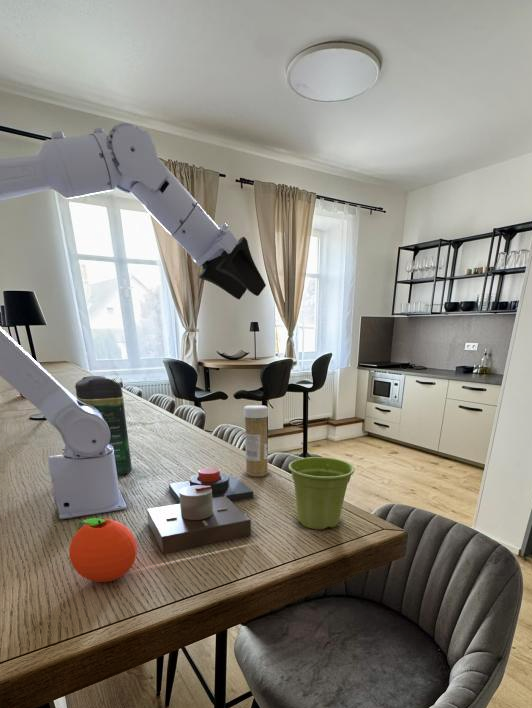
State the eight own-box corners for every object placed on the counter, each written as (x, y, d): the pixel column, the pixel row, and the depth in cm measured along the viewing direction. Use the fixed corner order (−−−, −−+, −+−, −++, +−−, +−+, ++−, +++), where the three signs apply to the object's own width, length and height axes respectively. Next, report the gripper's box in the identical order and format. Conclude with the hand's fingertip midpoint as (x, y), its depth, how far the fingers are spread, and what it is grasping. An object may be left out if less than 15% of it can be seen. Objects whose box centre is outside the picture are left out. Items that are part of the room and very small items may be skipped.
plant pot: (355, 514, 64) (359, 460, 61) (343, 540, 56) (348, 479, 53) (298, 506, 67) (299, 454, 64) (278, 529, 59) (279, 471, 56)
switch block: (183, 510, 65) (182, 492, 64) (169, 490, 73) (167, 474, 72) (253, 498, 70) (253, 481, 69) (232, 481, 78) (231, 466, 77)
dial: (185, 522, 55) (183, 495, 53) (177, 510, 58) (175, 485, 57) (217, 516, 57) (216, 490, 55) (207, 505, 60) (206, 481, 59)
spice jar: (272, 474, 83) (272, 406, 78) (255, 479, 80) (254, 409, 75) (257, 469, 86) (257, 403, 81) (240, 473, 83) (238, 406, 78)
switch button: (202, 484, 68) (201, 474, 68) (196, 478, 71) (195, 468, 71) (223, 481, 70) (222, 472, 69) (216, 475, 73) (215, 466, 72)
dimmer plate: (163, 554, 52) (161, 535, 51) (148, 524, 60) (146, 507, 59) (251, 536, 57) (250, 518, 56) (226, 510, 65) (225, 494, 64)
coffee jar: (137, 475, 81) (124, 377, 74) (94, 481, 77) (77, 379, 70) (125, 462, 89) (113, 373, 82) (86, 468, 85) (70, 374, 78)
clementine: (56, 579, 46) (43, 522, 44) (108, 554, 52) (100, 501, 49) (101, 602, 42) (90, 540, 40) (153, 572, 48) (146, 516, 45)
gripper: (217, 181, 53) (287, 266, 60) (187, 209, 65) (248, 277, 72) (185, 225, 53) (258, 305, 60) (160, 245, 65) (224, 310, 72)
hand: (251, 292), depth 66 cm, fingers open, 7 cm apart
